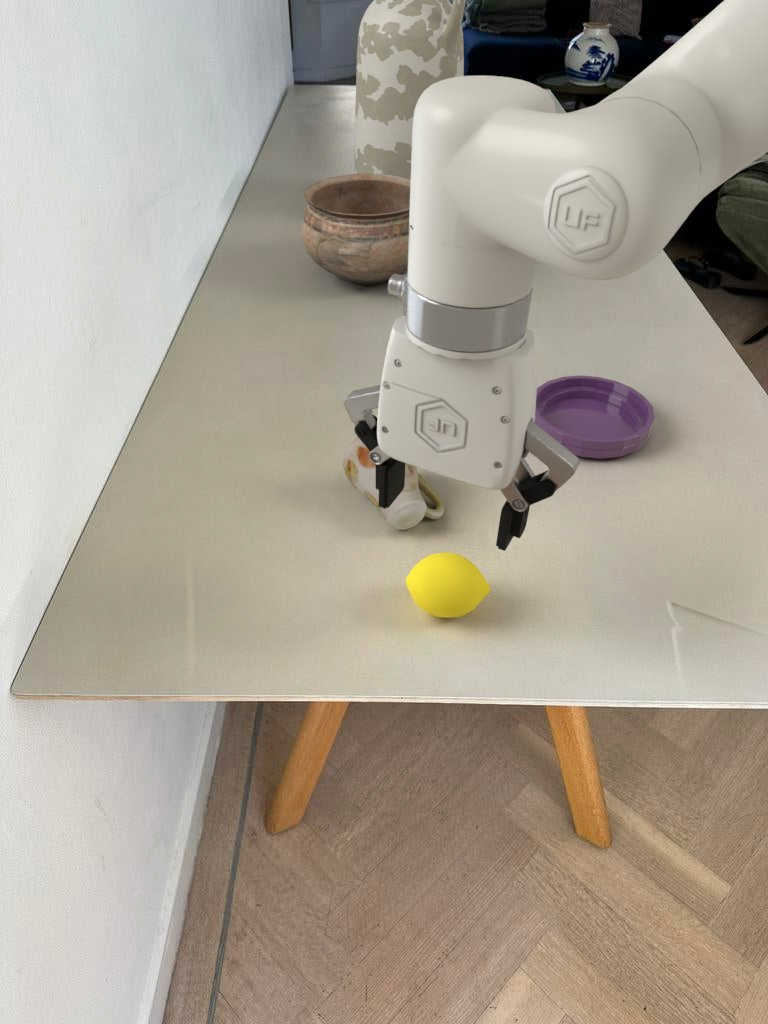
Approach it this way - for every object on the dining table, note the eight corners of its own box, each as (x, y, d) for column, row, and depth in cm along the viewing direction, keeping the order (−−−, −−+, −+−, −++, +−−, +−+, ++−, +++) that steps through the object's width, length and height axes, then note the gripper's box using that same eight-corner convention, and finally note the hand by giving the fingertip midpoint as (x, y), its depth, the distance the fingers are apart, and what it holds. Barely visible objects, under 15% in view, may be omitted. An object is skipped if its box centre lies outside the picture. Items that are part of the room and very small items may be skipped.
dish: (660, 412, 87) (666, 392, 85) (632, 475, 78) (638, 455, 76) (549, 384, 91) (552, 365, 90) (511, 441, 83) (513, 421, 81)
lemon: (400, 626, 63) (401, 580, 59) (409, 579, 67) (410, 534, 63) (485, 637, 62) (491, 591, 58) (489, 589, 66) (495, 543, 62)
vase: (334, 211, 136) (322, -53, 111) (408, 188, 146) (413, -60, 121) (412, 243, 125) (418, -43, 100) (487, 216, 134) (511, -52, 109)
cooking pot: (326, 241, 126) (322, 163, 118) (440, 249, 123) (443, 169, 115) (284, 307, 107) (276, 219, 99) (416, 318, 104) (419, 229, 97)
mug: (383, 554, 69) (342, 454, 66) (366, 526, 79) (329, 438, 76) (457, 521, 70) (419, 421, 67) (431, 498, 79) (397, 409, 76)
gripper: (314, 302, 47) (325, 510, 58) (587, 372, 41) (540, 589, 52) (372, 259, 52) (371, 458, 63) (622, 316, 46) (572, 525, 57)
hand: (447, 517), depth 58 cm, fingers open, 9 cm apart
